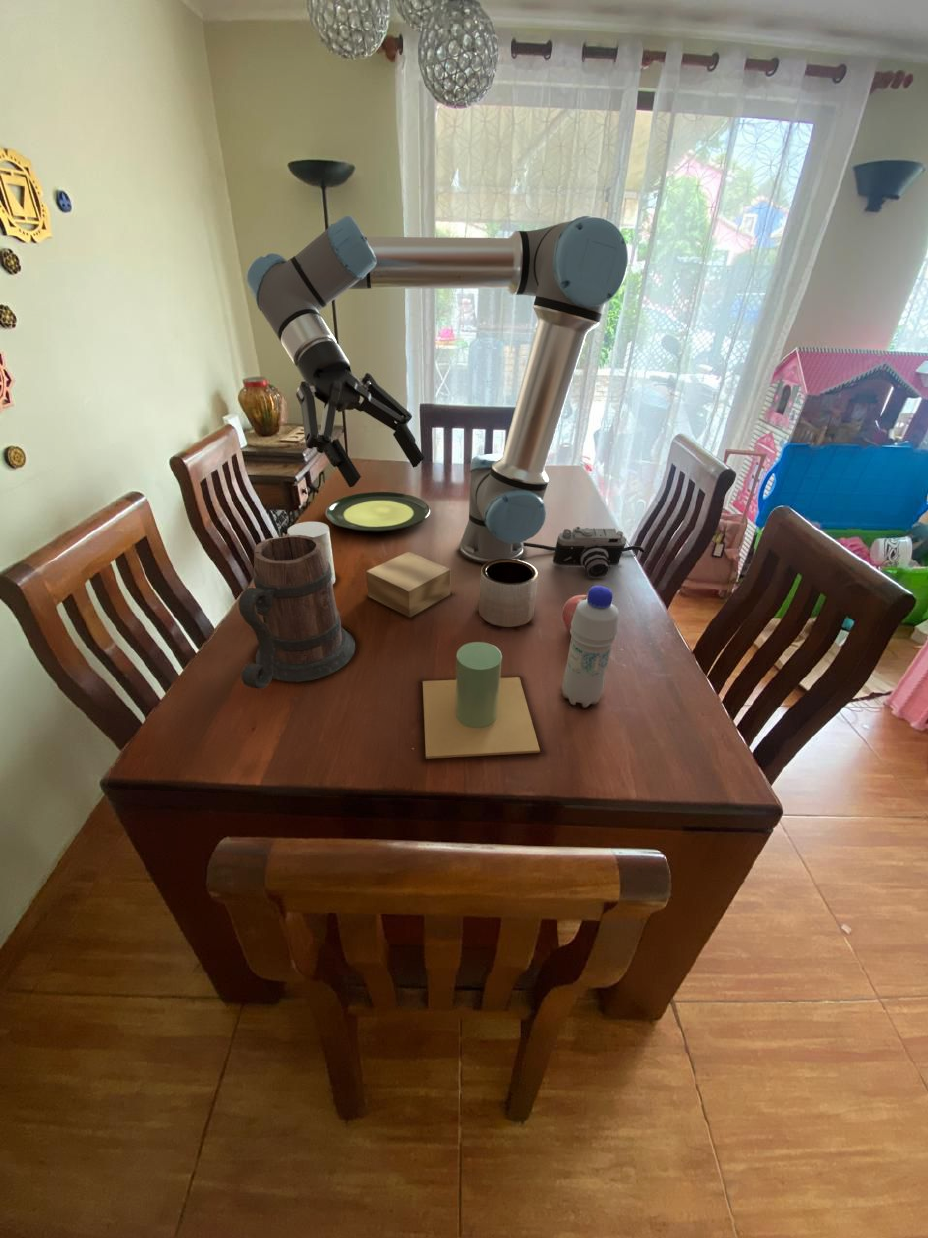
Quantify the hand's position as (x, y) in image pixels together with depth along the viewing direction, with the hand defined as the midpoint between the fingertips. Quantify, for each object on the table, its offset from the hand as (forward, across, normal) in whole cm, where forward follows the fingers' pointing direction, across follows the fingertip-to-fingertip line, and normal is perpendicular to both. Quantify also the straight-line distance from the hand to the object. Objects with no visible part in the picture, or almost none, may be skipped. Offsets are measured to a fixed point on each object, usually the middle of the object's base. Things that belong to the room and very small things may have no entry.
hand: (389, 472), depth 82 cm
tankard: (+17, +19, -25) cm, 36 cm away
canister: (+39, +8, -2) cm, 40 cm away
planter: (+30, -18, -12) cm, 37 cm away
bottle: (+46, -6, +4) cm, 47 cm away
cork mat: (+39, +8, -3) cm, 40 cm away
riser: (+16, -10, -26) cm, 32 cm away
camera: (+32, -45, -10) cm, 57 cm away
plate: (-8, -34, -51) cm, 62 cm away
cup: (+3, -1, -39) cm, 39 cm away
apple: (+40, -22, -2) cm, 46 cm away
